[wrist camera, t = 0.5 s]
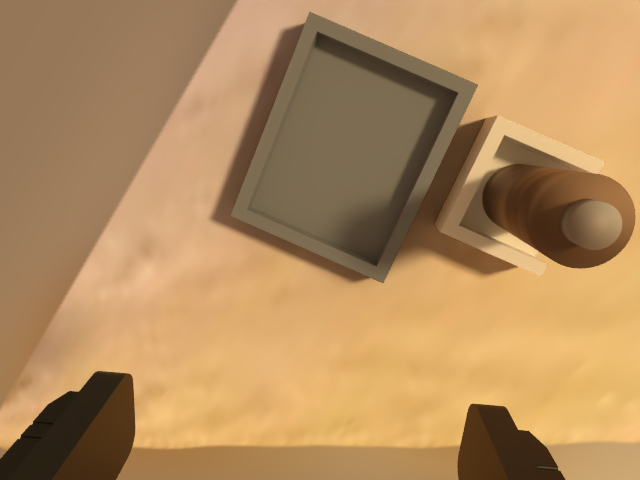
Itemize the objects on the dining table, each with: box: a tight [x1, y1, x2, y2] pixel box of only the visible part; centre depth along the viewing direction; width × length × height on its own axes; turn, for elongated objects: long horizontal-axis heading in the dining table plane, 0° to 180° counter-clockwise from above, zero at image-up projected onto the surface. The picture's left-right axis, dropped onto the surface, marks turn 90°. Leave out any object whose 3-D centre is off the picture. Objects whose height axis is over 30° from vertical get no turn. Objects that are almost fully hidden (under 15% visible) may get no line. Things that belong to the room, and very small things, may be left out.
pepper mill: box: [482, 164, 635, 268], centre depth 30 cm, size 5×5×13 cm
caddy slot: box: [434, 116, 604, 276], centre depth 36 cm, size 9×8×4 cm
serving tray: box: [231, 12, 478, 283], centre depth 37 cm, size 16×13×2 cm
